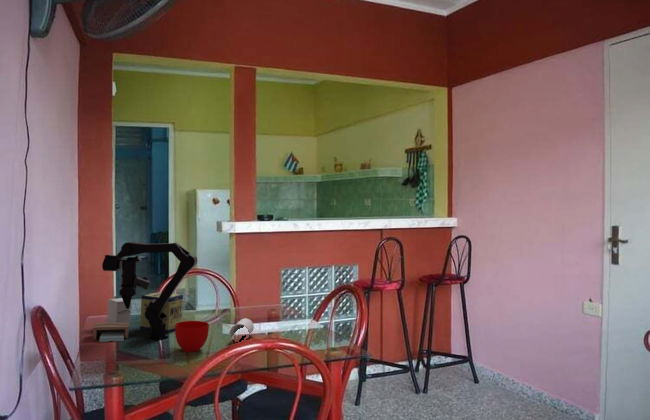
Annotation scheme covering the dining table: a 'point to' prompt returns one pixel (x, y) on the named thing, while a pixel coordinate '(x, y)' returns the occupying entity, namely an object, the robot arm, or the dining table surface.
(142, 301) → the protein box
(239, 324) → the white plastic bottle
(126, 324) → the low shelf
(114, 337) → the grey-blue square plate
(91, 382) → the dining table surface
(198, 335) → the ceramic cup
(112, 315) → the supplement box
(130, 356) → the dining table surface
